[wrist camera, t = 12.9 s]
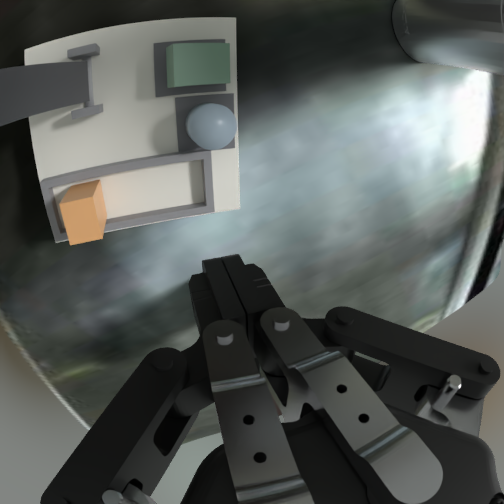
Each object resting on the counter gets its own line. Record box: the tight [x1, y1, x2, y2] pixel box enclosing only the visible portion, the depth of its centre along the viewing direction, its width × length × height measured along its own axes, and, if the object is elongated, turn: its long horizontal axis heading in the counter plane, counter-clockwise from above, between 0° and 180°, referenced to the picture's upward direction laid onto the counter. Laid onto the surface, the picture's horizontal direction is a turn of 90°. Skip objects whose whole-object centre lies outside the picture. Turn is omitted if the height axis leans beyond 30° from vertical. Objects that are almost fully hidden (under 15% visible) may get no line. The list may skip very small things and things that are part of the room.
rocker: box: [166, 43, 230, 88], centre depth 18 cm, size 4×3×2 cm
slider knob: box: [59, 179, 107, 245], centre depth 19 cm, size 2×3×4 cm
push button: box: [185, 103, 237, 150], centre depth 20 cm, size 3×3×2 cm
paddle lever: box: [0, 61, 90, 126], centre depth 12 cm, size 1×3×9 cm, turn 0°
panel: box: [25, 17, 240, 243], centre depth 20 cm, size 16×16×5 cm
